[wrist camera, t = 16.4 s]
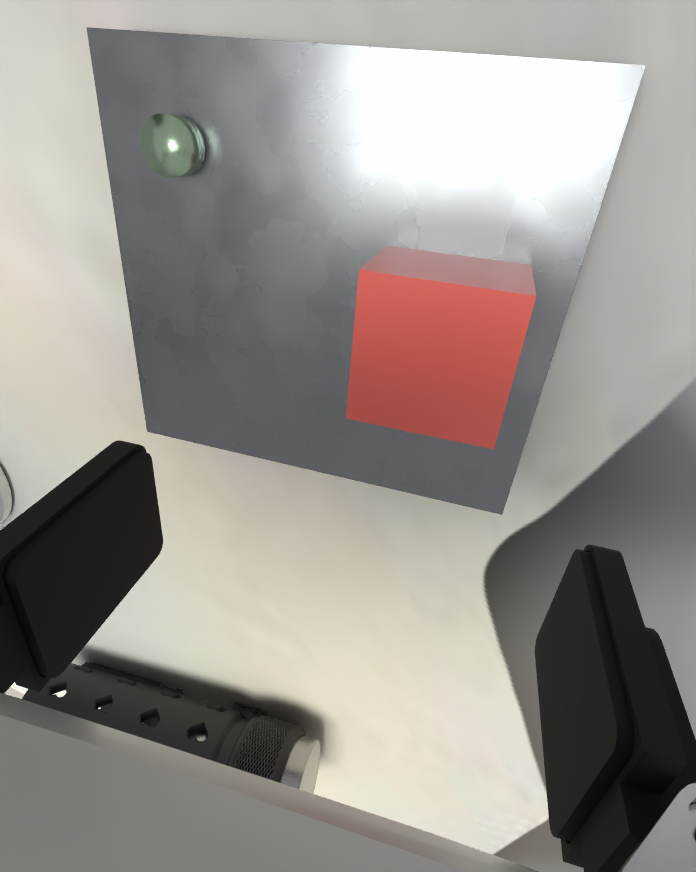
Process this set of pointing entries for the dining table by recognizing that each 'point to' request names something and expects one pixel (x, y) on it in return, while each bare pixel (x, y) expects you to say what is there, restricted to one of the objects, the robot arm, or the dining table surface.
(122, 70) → the board
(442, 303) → the red block
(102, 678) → the muzzle brake
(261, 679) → the dining table surface
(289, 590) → the dining table surface
